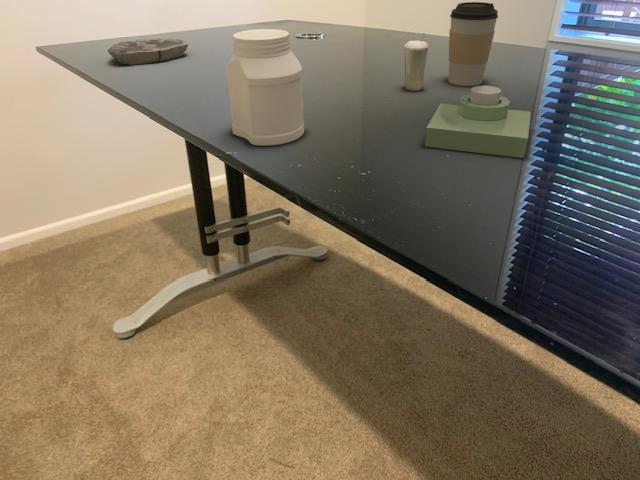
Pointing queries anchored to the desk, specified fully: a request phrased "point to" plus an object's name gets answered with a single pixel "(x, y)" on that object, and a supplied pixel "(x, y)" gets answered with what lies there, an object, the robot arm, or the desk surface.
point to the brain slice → (148, 50)
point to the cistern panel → (479, 128)
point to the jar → (265, 88)
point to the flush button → (485, 95)
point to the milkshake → (415, 63)
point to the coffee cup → (470, 42)
